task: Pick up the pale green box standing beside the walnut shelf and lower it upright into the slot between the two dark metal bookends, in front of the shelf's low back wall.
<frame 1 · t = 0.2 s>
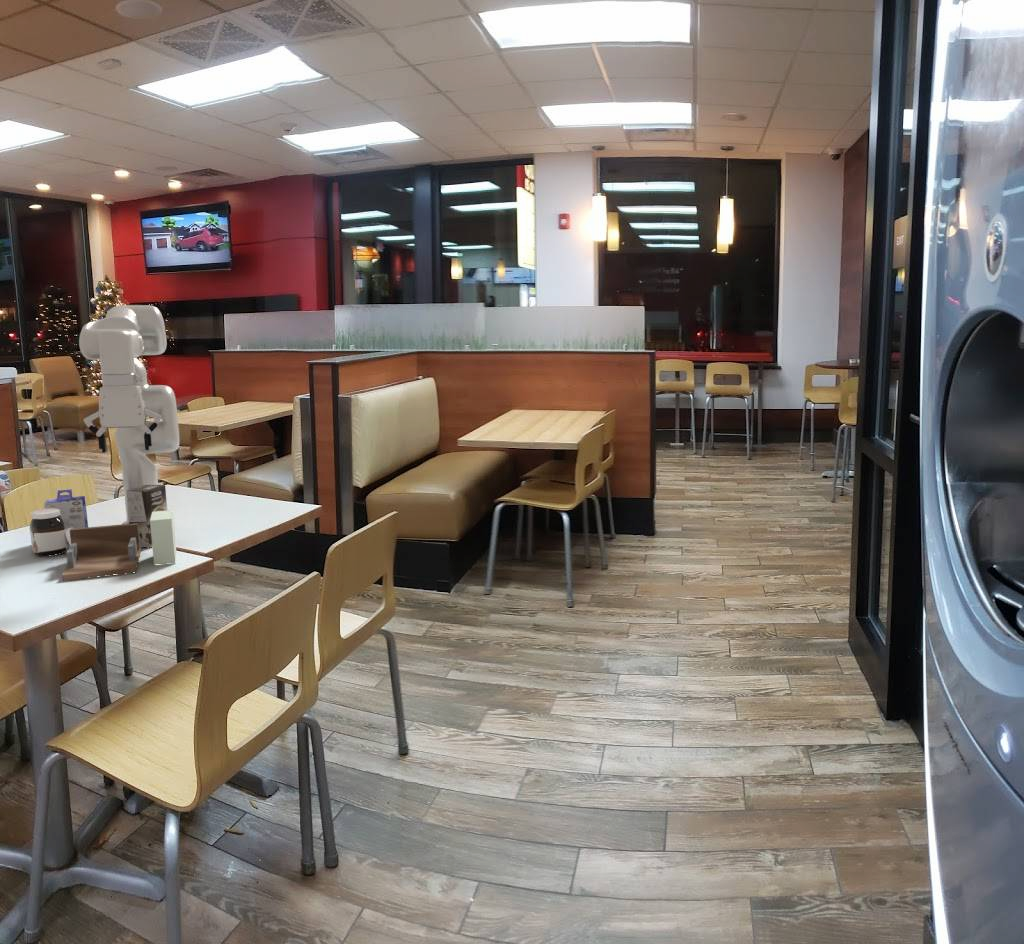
hand: (126, 450, 199), 30 cm above the table, tool pointing down, fingers open, 9 cm apart
spread jar: (58, 552, 218), on the table
coffee box: (151, 544, 226), on the table
ink cartridge box: (69, 541, 230), on the table
pale green box: (165, 559, 211), on the table
shelf: (104, 566, 205), on the table
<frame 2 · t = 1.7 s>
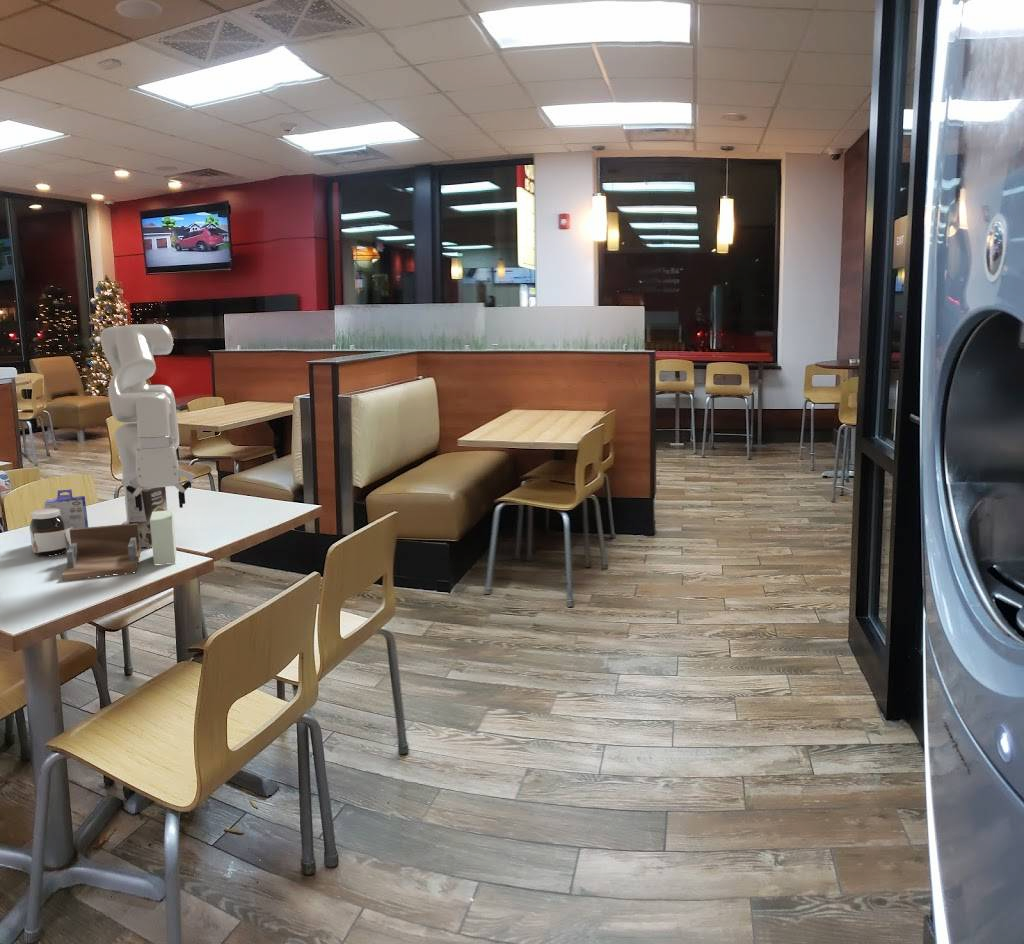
hand: (161, 508, 208), 14 cm above the table, tool pointing down, fingers open, 9 cm apart
nothing on the table moved.
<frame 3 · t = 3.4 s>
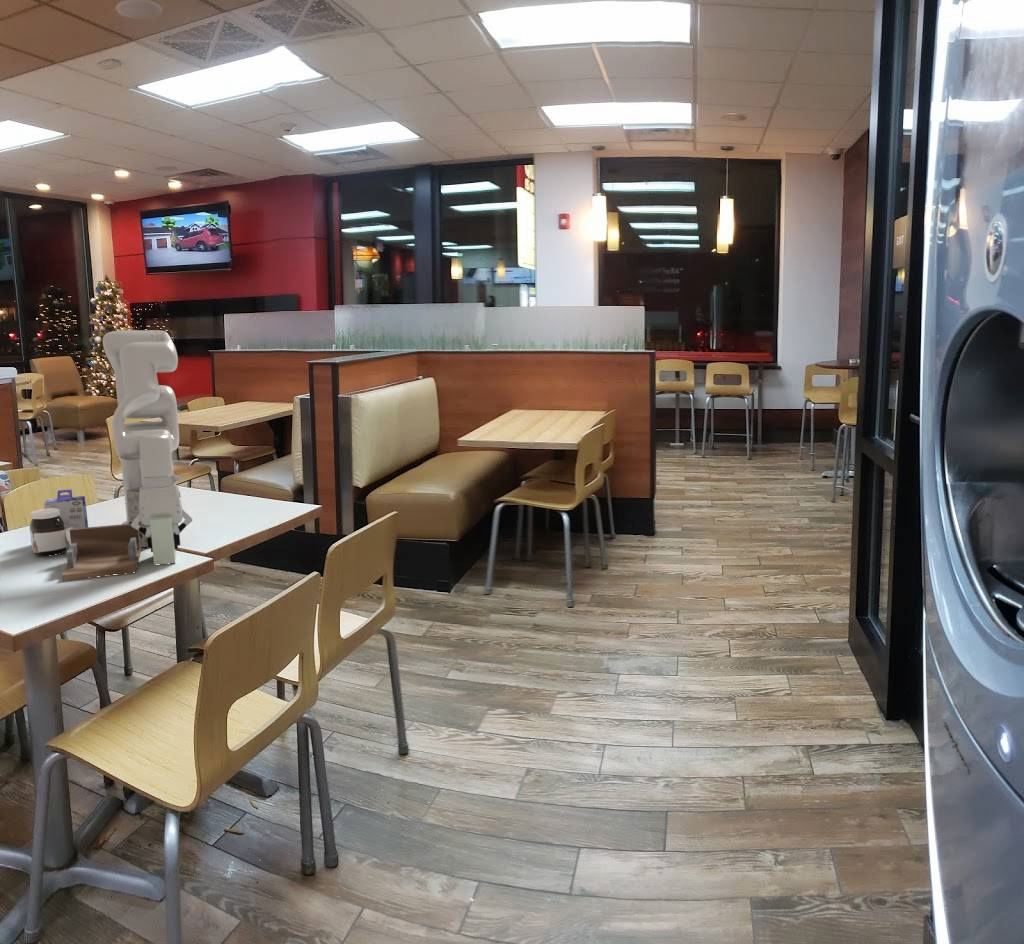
hand: (164, 548, 211), 3 cm above the table, tool pointing down, fingers closed on pale green box, 5 cm apart
pale green box: (165, 559, 211), on the table, touching gripper
everything else where it was.
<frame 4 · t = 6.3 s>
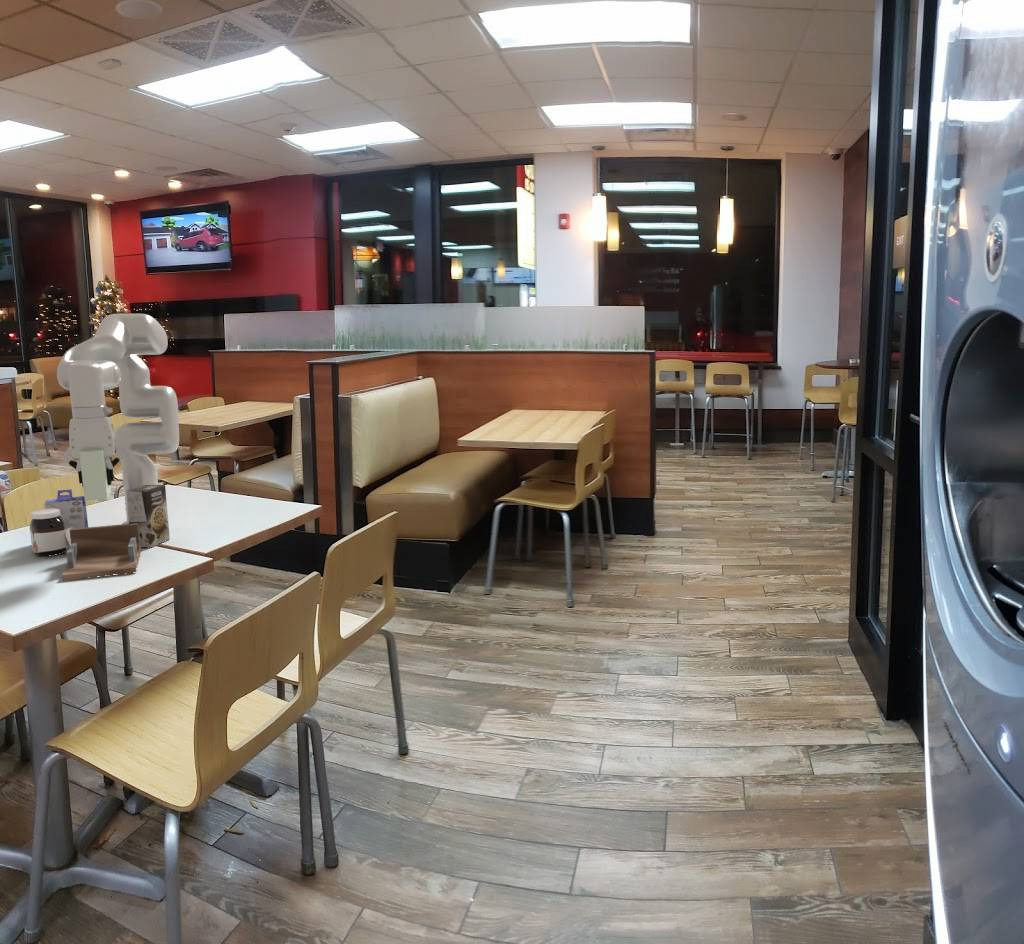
hand: (97, 484, 202), 21 cm above the table, tool pointing down, fingers closed on pale green box, 5 cm apart
pale green box: (98, 495, 203), point 18 cm above the table, touching gripper
everything else where it was.
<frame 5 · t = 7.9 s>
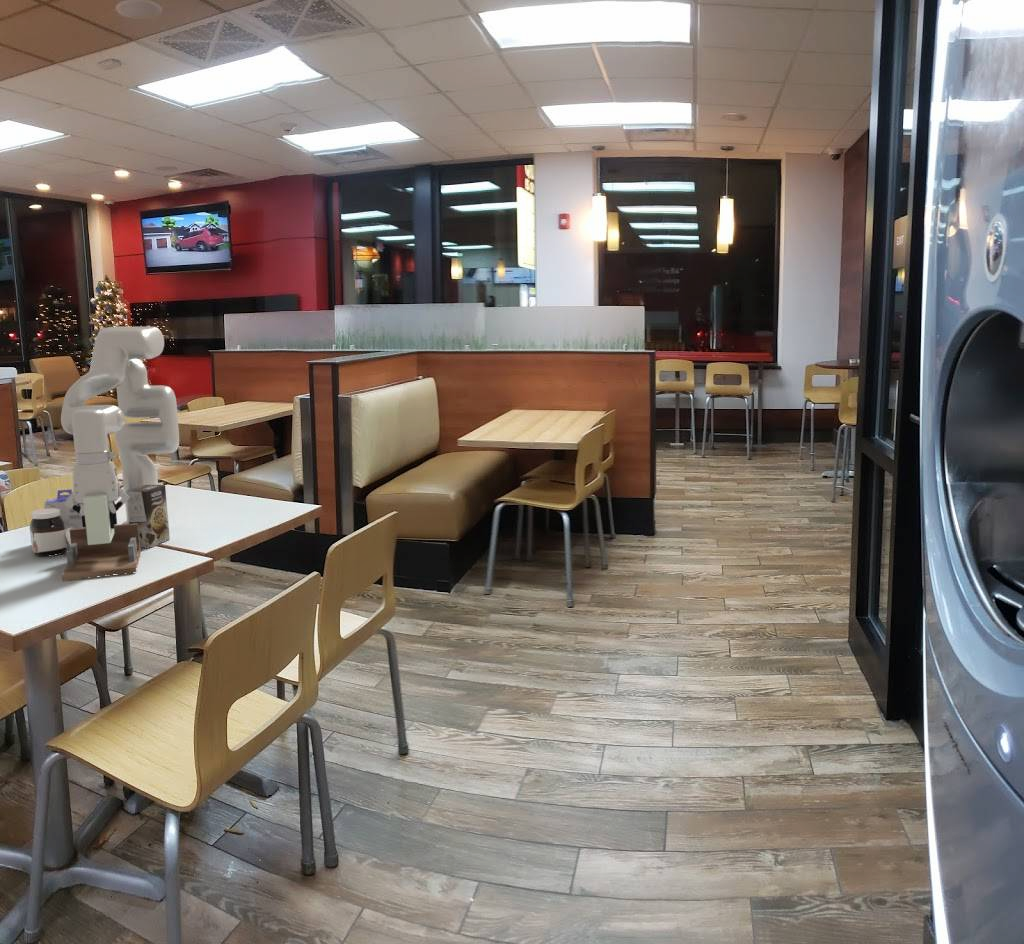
hand: (100, 527, 204), 10 cm above the table, tool pointing down, fingers closed on pale green box, 5 cm apart
pale green box: (101, 538, 205), point 7 cm above the table, touching gripper
everything else where it was.
when the fingers open (5 cm above the table, at t = 9.2 s): pale green box stays where it is, resting on shelf.
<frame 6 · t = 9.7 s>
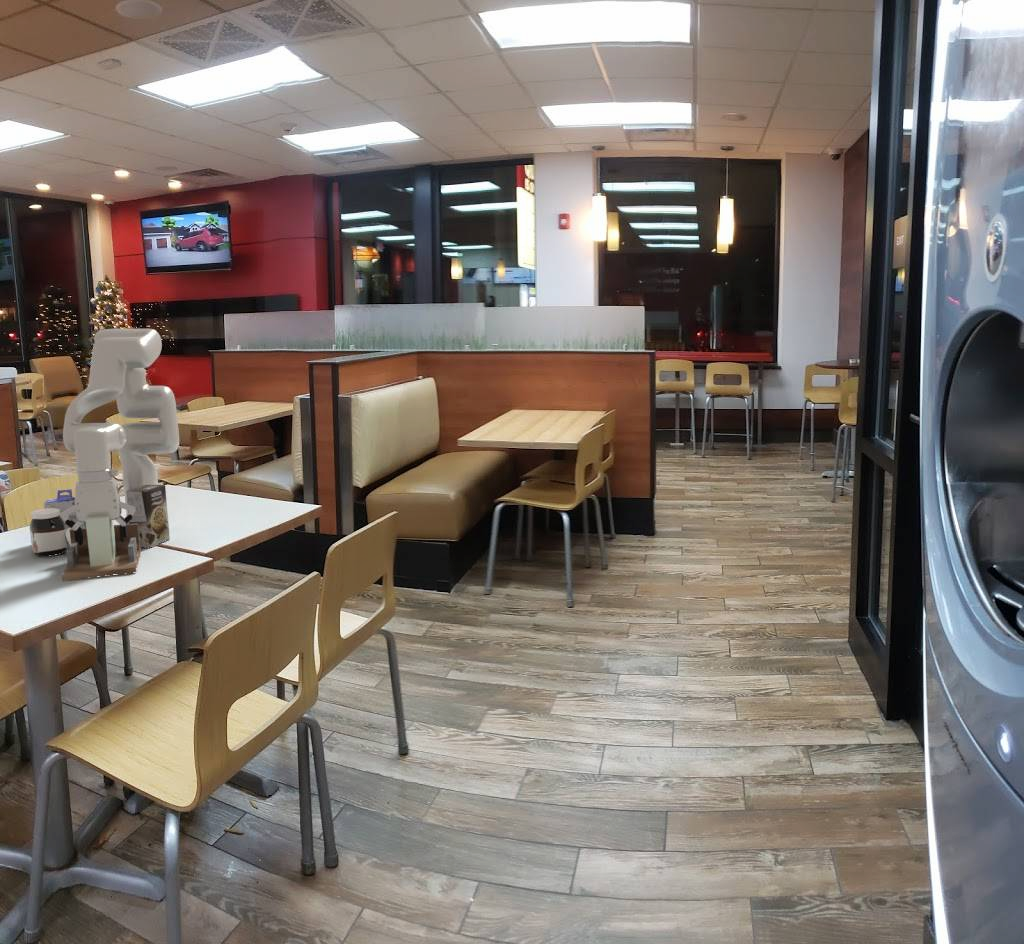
hand: (101, 542, 205), 6 cm above the table, tool pointing down, fingers open, 9 cm apart
pale green box: (103, 559, 206), point 1 cm above the table, touching shelf
everything else where it was.
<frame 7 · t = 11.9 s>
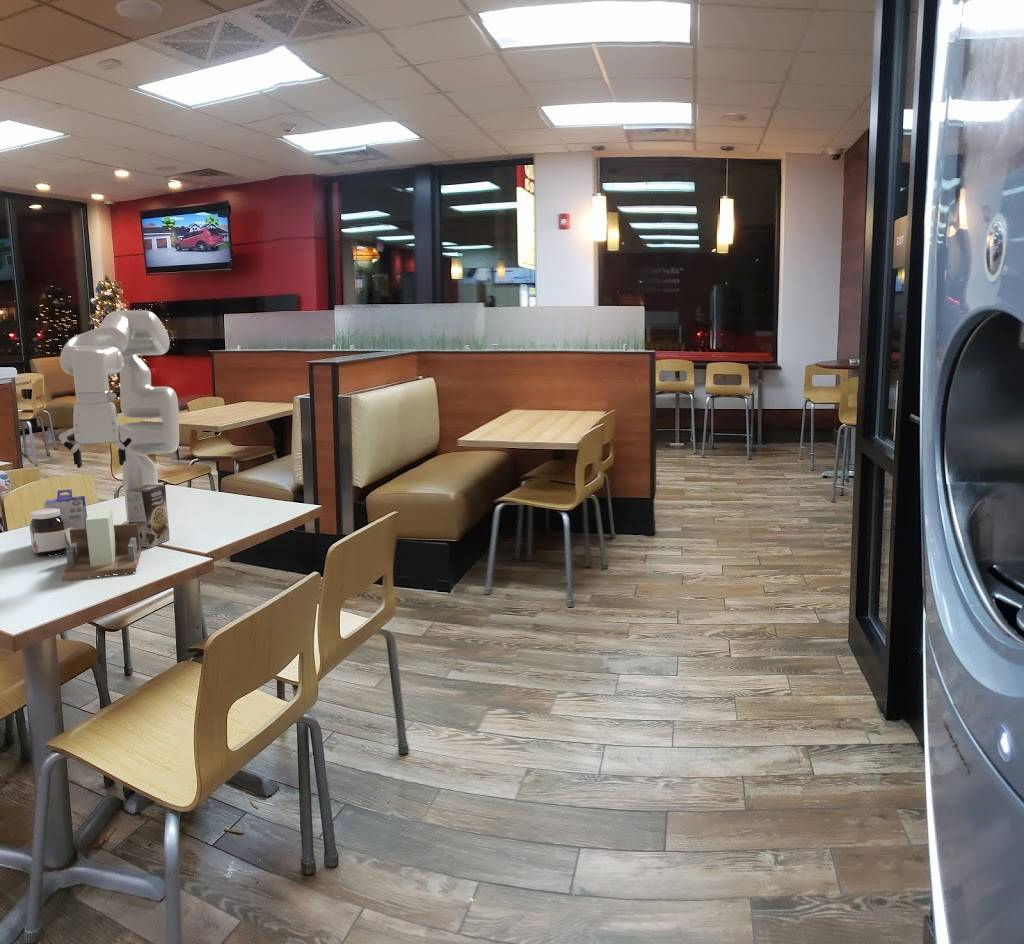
hand: (101, 465, 204), 26 cm above the table, tool pointing down, fingers open, 9 cm apart
nothing on the table moved.
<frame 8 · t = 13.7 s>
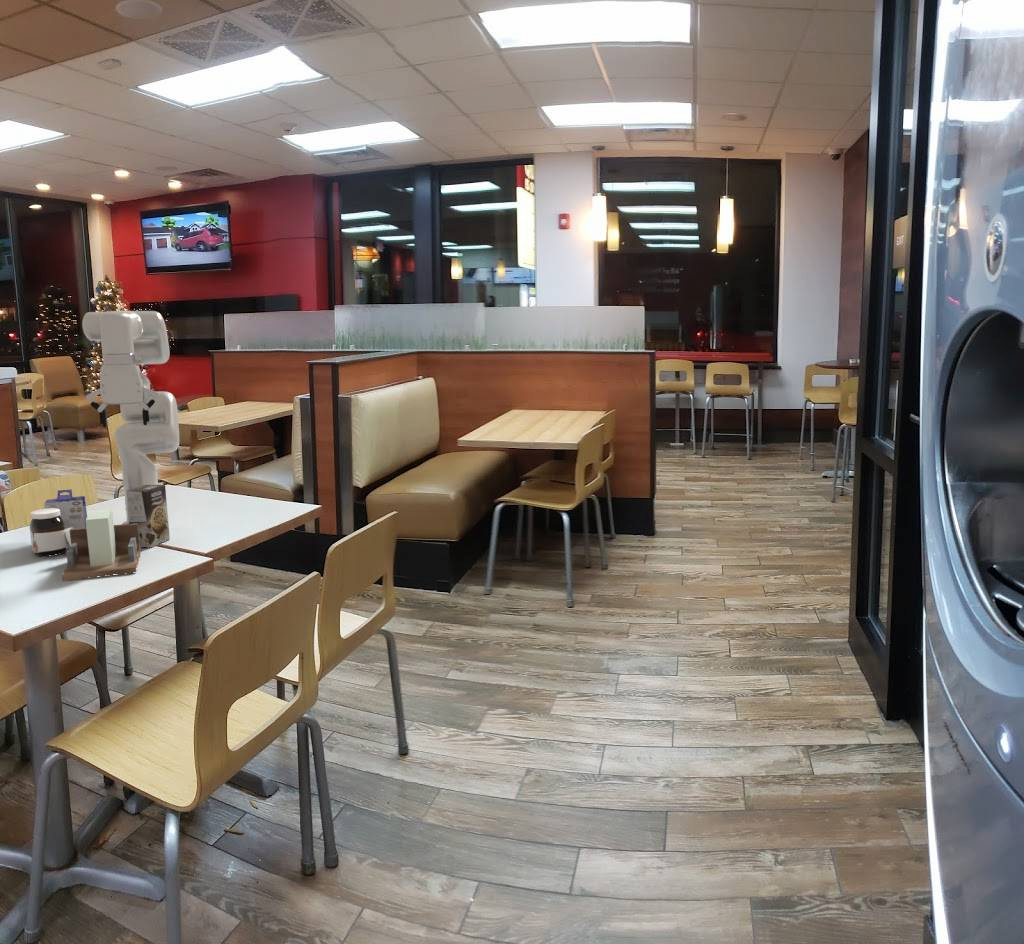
hand: (125, 425, 213), 34 cm above the table, tool pointing down, fingers open, 9 cm apart
nothing on the table moved.
at the end: pale green box 0.1 cm from the target spot on the shelf, point 1.5 cm above the shelf's base; pale green box tilted 0°; the gripper is holding nothing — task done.
